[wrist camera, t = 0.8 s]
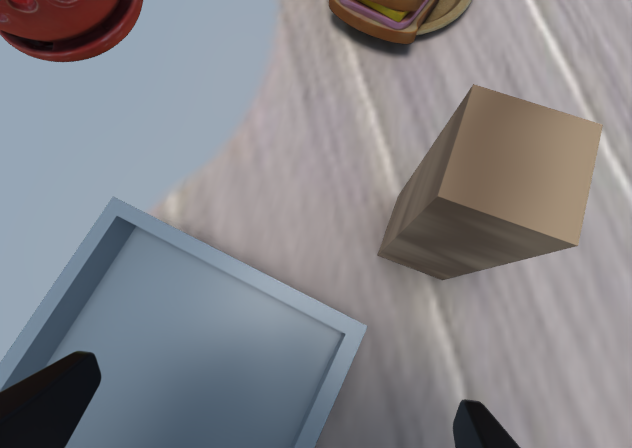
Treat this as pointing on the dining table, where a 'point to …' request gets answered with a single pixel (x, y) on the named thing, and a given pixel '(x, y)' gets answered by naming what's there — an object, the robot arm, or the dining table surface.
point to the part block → (494, 188)
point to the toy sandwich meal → (398, 16)
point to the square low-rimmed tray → (186, 343)
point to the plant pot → (67, 26)
